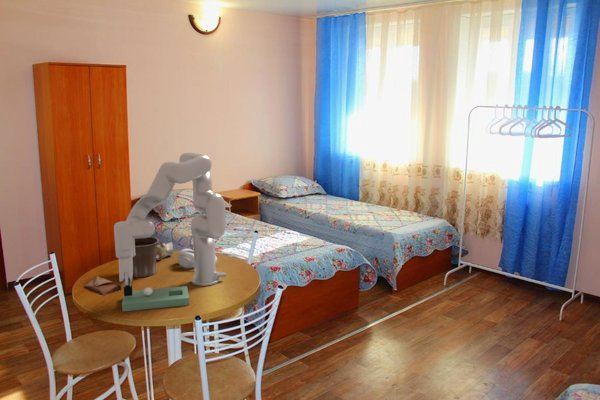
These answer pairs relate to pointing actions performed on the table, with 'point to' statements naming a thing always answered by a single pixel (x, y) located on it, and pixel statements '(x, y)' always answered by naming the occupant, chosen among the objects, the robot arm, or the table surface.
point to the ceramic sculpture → (164, 250)
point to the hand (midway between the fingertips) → (128, 295)
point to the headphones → (188, 258)
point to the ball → (148, 291)
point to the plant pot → (145, 257)
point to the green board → (156, 299)
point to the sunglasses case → (103, 286)
